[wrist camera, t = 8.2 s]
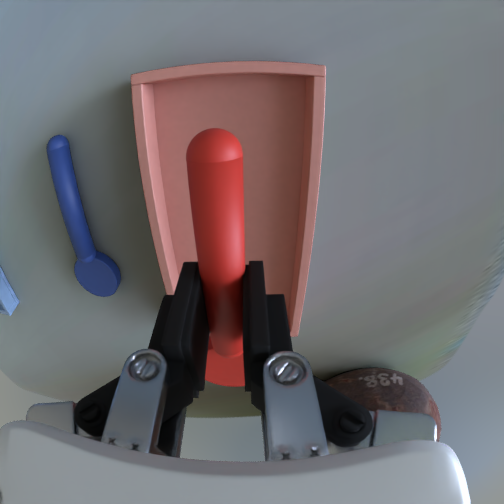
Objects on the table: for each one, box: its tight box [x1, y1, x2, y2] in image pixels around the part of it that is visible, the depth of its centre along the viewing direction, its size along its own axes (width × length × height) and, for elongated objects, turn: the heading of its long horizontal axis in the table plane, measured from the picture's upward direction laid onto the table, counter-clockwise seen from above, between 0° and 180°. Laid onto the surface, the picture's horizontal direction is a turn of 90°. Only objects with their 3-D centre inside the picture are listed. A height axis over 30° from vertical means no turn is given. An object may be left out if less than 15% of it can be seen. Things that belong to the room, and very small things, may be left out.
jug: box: [324, 368, 441, 442], centre depth 21 cm, size 22×21×25 cm
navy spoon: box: [47, 135, 121, 297], centre depth 16 cm, size 13×4×2 cm, turn 0°
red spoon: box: [186, 128, 245, 387], centre depth 10 cm, size 13×4×2 cm, turn 0°
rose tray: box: [131, 61, 326, 337], centre depth 16 cm, size 18×9×2 cm, turn 0°
